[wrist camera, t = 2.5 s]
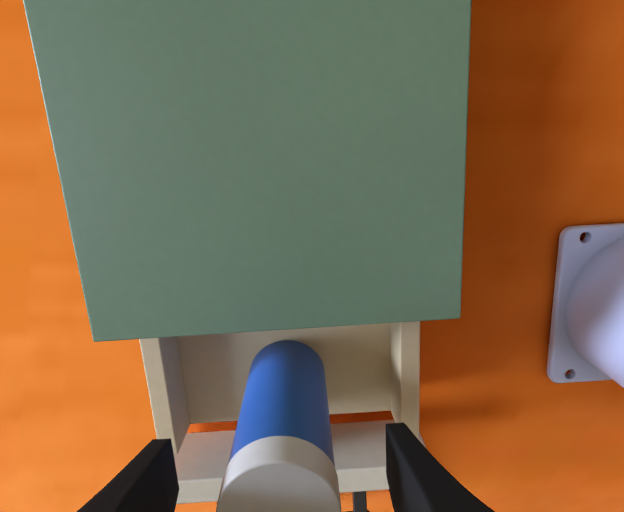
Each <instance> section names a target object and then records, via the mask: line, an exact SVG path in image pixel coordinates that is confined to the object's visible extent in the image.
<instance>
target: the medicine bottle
mask: <svg viewBox="0 0 624 512" xmlns="http://www.w3.org/2000/svg"><path fill="white" fill-rule="evenodd" d="M216 512H341V502H340V493H339V485H338V476H337V473H336V469H335V463H334V453H333V444H332V435H331V426H330V416H329V407H328V398H327V388H326V379H325V370H324V365H323V362H322V360H321V358H320V357H319V355H318V354H317V353H316V352H315V351H314V350H313V349H312V348H310V347H309V346H307V345H305V344H303V343H301V342H297V341H292V340H283V341H277V342H274V343H271V344H269V345H267V346H265V347H264V348H263V349H261V350H260V351H259V352H258V353H257V355H256V356H255V358H254V359H253V361H252V364H251V367H250V371H249V376H248V380H247V384H246V389H245V393H244V397H243V402H242V406H241V410H240V415H239V419H238V423H237V427H236V432H235V436H234V440H233V445H232V449H231V453H230V458H229V462H228V465H227V467H226V470H225V472H224V476H223V480H222V484H221V489H220V493H219V497H218V501H217V508H216Z"/></svg>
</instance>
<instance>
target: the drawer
mask: <svg viewBox="0 0 624 512" xmlns="http://www.w3.org/2000/svg"><path fill="white" fill-rule="evenodd" d="M139 340H140V345H141V351H142V357H143V362H144V368H145V374H146V380H147V385H148V391H149V397H150V402H151V408H152V414H153V419H154V425H155V431H156V436H157V439H169V438H171V441H172V447H173V454H174V460H175V466H176V472H177V478H178V484H179V493H178V498H177V502H176V504H183V503H197V502H212V501H218V497H219V493H220V489H221V484H222V480H223V476H224V472H225V470H226V467H227V465H228V462H229V458H230V453H231V449H232V445H233V440H234V436H235V432H236V430H229V431H214V432H199V433H187V430H188V428H189V425H190V424H194V423H209V422H224V421H238V419H239V415H240V410H241V406H242V402H243V397H244V393H245V389H246V384H247V380H248V376H249V371H250V367H251V364H252V361H253V359H254V358H255V356H256V355H257V353H258V352H259V351H260V350H261V349H263V348H264V347H265V346H267V345H269V344H271V343H274V342H277V341H283V340H292V341H297V342H301V343H303V344H305V345H307V346H309V347H310V348H312V349H313V350H314V351H315V352H316V353H317V354H318V355H319V357H320V358H321V360H322V362H323V365H324V370H325V379H326V388H327V398H328V407H329V415H330V414H345V413H361V412H376V411H391V412H392V415H393V418H394V420H380V421H365V422H350V423H335V424H330V426H331V435H332V444H333V453H334V463H335V469H336V473H337V476H338V485H339V493H344V492H353V511H347V512H369V511H368V510H367V501H366V491H374V490H388V489H389V486H388V481H387V476H386V424H388V423H402V422H404V423H405V424H406V425H407V426H408V428H409V429H410V430H411V431H412V432H413V434H414V435H415V436H416V437H417V439H418V440H419V441H420V442H421V443H422V444H423V446H424V447H425V448H426V446H425V443H424V441H423V438H422V436H421V434H420V431H419V397H420V321H413V322H397V323H382V324H366V325H350V326H335V327H319V328H303V329H287V330H272V331H256V332H240V333H225V334H209V335H193V336H177V337H162V338H146V339H139ZM426 449H427V448H426Z"/></svg>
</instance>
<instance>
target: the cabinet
mask: <svg viewBox="0 0 624 512" xmlns="http://www.w3.org/2000/svg"><path fill="white" fill-rule="evenodd" d="M23 2H24V7H25V12H26V17H27V22H28V27H29V31H30V36H31V41H32V46H33V51H34V56H35V60H36V65H37V70H38V75H39V80H40V85H41V89H42V94H43V99H44V104H45V109H46V114H47V118H48V123H49V128H50V133H51V138H52V143H53V148H54V152H55V157H56V162H57V167H58V172H59V177H60V181H61V186H62V191H63V196H64V201H65V206H66V210H67V215H68V220H69V225H70V230H71V235H72V239H73V244H74V249H75V254H76V259H77V264H78V269H79V273H80V278H81V283H82V288H83V293H84V298H85V302H86V307H87V312H88V317H89V322H90V327H91V331H92V336H93V341H94V342H99V341H115V340H130V339H146V338H162V337H177V336H193V335H209V334H225V333H240V332H256V331H272V330H287V329H303V328H319V327H335V326H350V325H366V324H382V323H397V322H413V321H429V320H445V319H459V318H460V314H461V286H462V258H463V229H464V201H465V173H466V144H467V116H468V88H469V59H470V31H471V3H472V0H23Z"/></svg>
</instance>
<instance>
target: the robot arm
mask: <svg viewBox="0 0 624 512" xmlns="http://www.w3.org/2000/svg"><path fill="white" fill-rule="evenodd" d="M583 232H585V235H586V236H585V238H584V239H583V240H582V241H580V236H581V234H582V233H583ZM568 370H570V372H569V373H568V374H566V375H565V373H566V372H567V371H568ZM547 376H548V378H549V379H550V380H552V381H553V382H555V383H571V382H586V381H601V380H614V381H615V382H616V383H618V384H619V385H621V386H622V387H623V388H624V223H611V224H595V225H578V226H569V227H566V228H565V229H563V230H562V232H561V233H560V236H559V245H558V256H557V267H556V277H555V288H554V298H553V309H552V319H551V330H550V340H549V351H548V362H547ZM386 476H387V481H388V486H389V491H390V495H391V500H392V505H393V508H394V511H395V512H494V511H493V510H492V509H490V508H489V507H488V506H486V505H485V504H484V503H483V502H481V501H480V500H479V499H478V498H476V497H475V496H474V495H473V494H472V493H470V492H469V491H468V490H467V489H466V488H465V487H464V486H462V485H461V484H460V483H459V482H458V481H457V480H456V479H455V478H454V477H453V476H452V475H451V474H450V473H449V472H448V471H447V470H446V469H445V468H444V467H443V466H442V465H441V464H440V463H439V462H438V461H437V460H436V459H435V458H434V457H433V456H432V454H431V453H430V452H429V451H428V450H427V449H426V448H425V447H424V446H423V444H422V443H421V442H420V441H419V440H418V439H417V437H416V436H415V435H414V434H413V432H412V431H411V430H410V429H409V428H408V426H407V425H406V424H405V423H404V422H402V423H388V424H386ZM178 493H179V484H178V478H177V472H176V466H175V460H174V454H173V447H172V441H171V438H169V439H154V440H152V441H151V442H150V443H149V444H148V445H147V446H146V447H145V448H144V449H143V450H142V451H141V452H140V453H139V454H138V455H137V456H136V457H135V458H134V459H133V460H132V461H131V462H130V463H129V464H128V465H127V466H126V467H125V468H124V469H123V470H122V471H121V472H120V473H118V474H117V475H116V476H115V477H114V478H113V479H112V480H111V481H110V482H109V483H108V484H107V485H106V486H105V487H104V488H103V489H102V490H101V491H99V492H98V493H97V494H96V495H95V496H94V497H93V498H92V499H91V500H89V501H88V502H87V503H86V504H85V505H84V506H83V507H82V508H81V509H79V510H78V511H77V512H174V510H175V506H176V502H177V498H178Z"/></svg>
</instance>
